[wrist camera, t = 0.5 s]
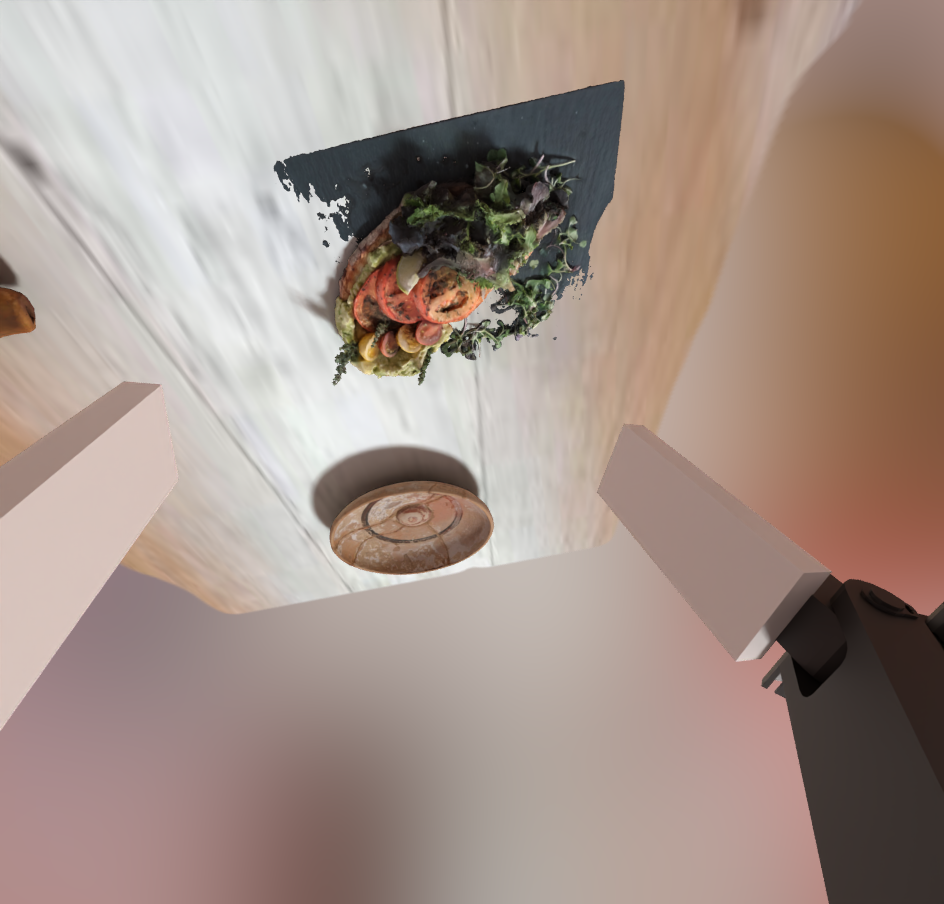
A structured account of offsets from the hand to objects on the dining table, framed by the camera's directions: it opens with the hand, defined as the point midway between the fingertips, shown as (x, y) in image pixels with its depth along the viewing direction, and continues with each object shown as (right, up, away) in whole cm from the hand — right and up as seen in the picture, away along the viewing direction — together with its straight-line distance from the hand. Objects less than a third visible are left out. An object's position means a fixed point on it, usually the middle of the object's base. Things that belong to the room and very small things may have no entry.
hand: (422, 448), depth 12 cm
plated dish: (-1, +16, +25) cm, 30 cm away
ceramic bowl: (-8, -9, +50) cm, 51 cm away
